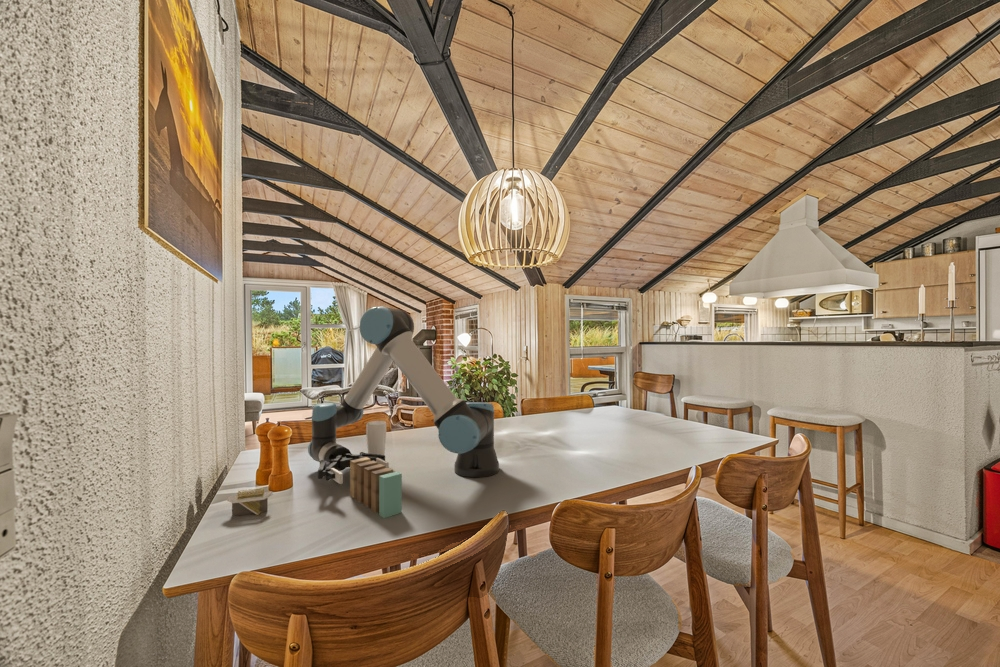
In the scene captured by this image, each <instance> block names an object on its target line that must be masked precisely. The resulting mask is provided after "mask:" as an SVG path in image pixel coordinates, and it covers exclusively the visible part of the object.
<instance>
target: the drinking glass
mask: <svg viewBox="0 0 1000 667" xmlns="http://www.w3.org/2000/svg"><path fill="white" fill-rule="evenodd" d="M365 427H366V429H365V433H366V436H365V437H366V446H367V453H368V454H377V455H386V454H385V453H386V452H385V451H386V443H387V442H386V440H387V421H384V420H372V421H369V422H367V423H366V426H365Z"/></svg>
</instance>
